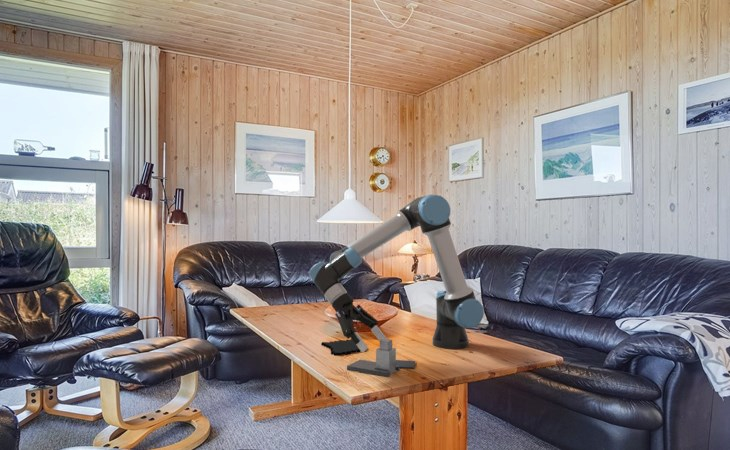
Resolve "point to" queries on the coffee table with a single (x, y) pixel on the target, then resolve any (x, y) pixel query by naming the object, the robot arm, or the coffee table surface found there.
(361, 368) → the slotted plate
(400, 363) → the pad
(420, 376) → the coffee table surface
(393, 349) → the stepped metal tower
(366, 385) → the coffee table surface
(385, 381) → the coffee table surface
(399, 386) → the coffee table surface
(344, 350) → the decorative item
